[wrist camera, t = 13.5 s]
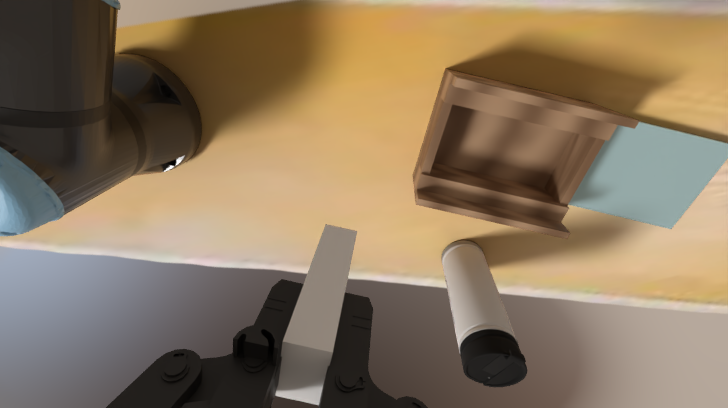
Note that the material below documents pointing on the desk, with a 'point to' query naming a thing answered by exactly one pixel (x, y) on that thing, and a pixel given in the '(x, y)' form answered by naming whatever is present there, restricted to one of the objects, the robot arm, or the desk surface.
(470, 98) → the box
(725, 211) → the desk surface
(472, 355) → the travel mug
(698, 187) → the cover plate
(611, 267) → the desk surface
